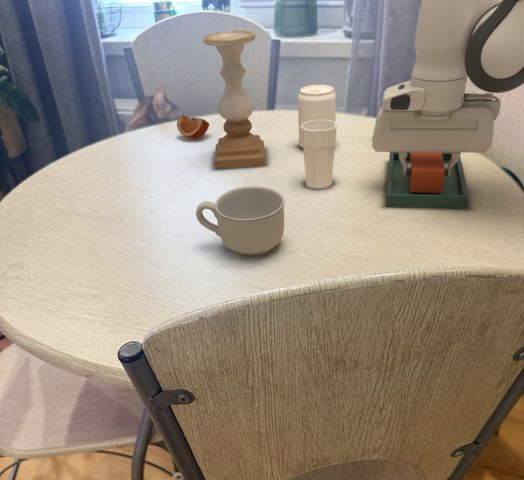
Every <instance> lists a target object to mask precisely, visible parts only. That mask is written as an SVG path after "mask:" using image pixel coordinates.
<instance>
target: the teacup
mask: <svg viewBox="0 0 524 480" xmlns="http://www.w3.org/2000/svg"><path fill="white" fill-rule="evenodd" d="M204 210H210V211H211V212H212V213H213V215H214V217H215V219H216V221H217V224H215V223H214V222H211V221H209V220H208V219H207V218H206V217H205V216H204V214H203V211H204ZM195 216H196V219H197V221H198V222H199V224H200V225H201V226H202V227H204V228H206V229H208V230H209V231H211V232H213V233H215V235H216V236H217V237H219V238H220V240H221V241H222V243H223V245H224V246H225V247H226V248H228V249H229V250H231V251H233V252H234V253H237V254H240V255H242V256H247V257H248V256H250V257H251V256H252V257H253V256H260V255H263V254H265V253H268V252H269V251H270V250H271V249H273V248H274V247H275V246H277V245H278V244H279V243H280V241H281V240H282V238H283V235H284V230H285V198H284V195H282V194H281V193H280V191H277V190H275V189H273V188H271V187H266V186H259V185H255V186H254V185H253V186H251V185H250V186H241V187H236V188H233V189H229V190H228V191H226V192H224V193H222V194H221V195H220V196H219V197H218V198H217V199H216V201H215V203H214V202H212V201H208V200H207V201H202V202H201V203H199V204H198V205H197V208H196V211H195Z"/></svg>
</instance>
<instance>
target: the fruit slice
mask: <svg viewBox="0 0 524 480" xmlns="http://www.w3.org/2000/svg"><path fill="white" fill-rule="evenodd" d="M209 127H210V123H209V122H208V121H207V120H206V119H204V118H200V117H194V116H192V117H189V116H187V115H181V114H180V115H179V114H178V118H177V122H176V128H177V130H178V133H180V135H182V136H183V137H185V138H187V139H189V140H197V139H200V138H202V137H203V136H204V135H205V134H206V133H207V132H208V130H209Z"/></svg>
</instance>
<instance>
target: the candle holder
mask: <svg viewBox="0 0 524 480" xmlns="http://www.w3.org/2000/svg"><path fill="white" fill-rule="evenodd" d="M202 39H203V40H202V41H203V43H204V45H207V46H211V47H216V50H217V53H218V54H219V55H220V56H221V59H222V66H221V69H220V70H219V75H220V76H222V79H223V81H224V83H225V88H224V91H223V94H222V96H221V97H220V100H219V103H218V113H219V115H220V117H221V118H222V119H224V120H225V122H224V123H223V126H222V127H223V131H224V132H225V135H224V136H223V137H219V138H218V140H217V144H215V148H214V150H215V152H214V160H213V161H214V168H215V170H225V169H237V168H238V169H239V168H240V169H241V168H250V167H263V166H266V165H267V162H266V149H265V141H264V140H262V139H261V136H260V135H259V134H253V133H251V132H250V131H251V130H252V127H253V125H252V122H251V121H250V119H249V118H250V117H251V115H252V114H253V113H254V103H253V101H252V99H251V97H250V96H249V95H248V93H247V92H246V89H245V88H244V86H243V78H244V75H245V73H246V69H245V67H244V66H243V64H242V62H241V55H242V52H243V51H244V49H245V45H246V44H248V43H251V42H254V41H255V40H256V32H254V31H250V30H226V31H219V32H213V33H209V34H207V35H205V36H204V37H203V38H202Z"/></svg>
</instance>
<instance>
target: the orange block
mask: <svg viewBox="0 0 524 480" xmlns="http://www.w3.org/2000/svg"><path fill="white" fill-rule="evenodd" d="M411 164H412V171H411V176H410V192H419V193H442V187H443V181H444V174H445V168H444V161H443V155H413V154H412V159H411Z"/></svg>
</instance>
